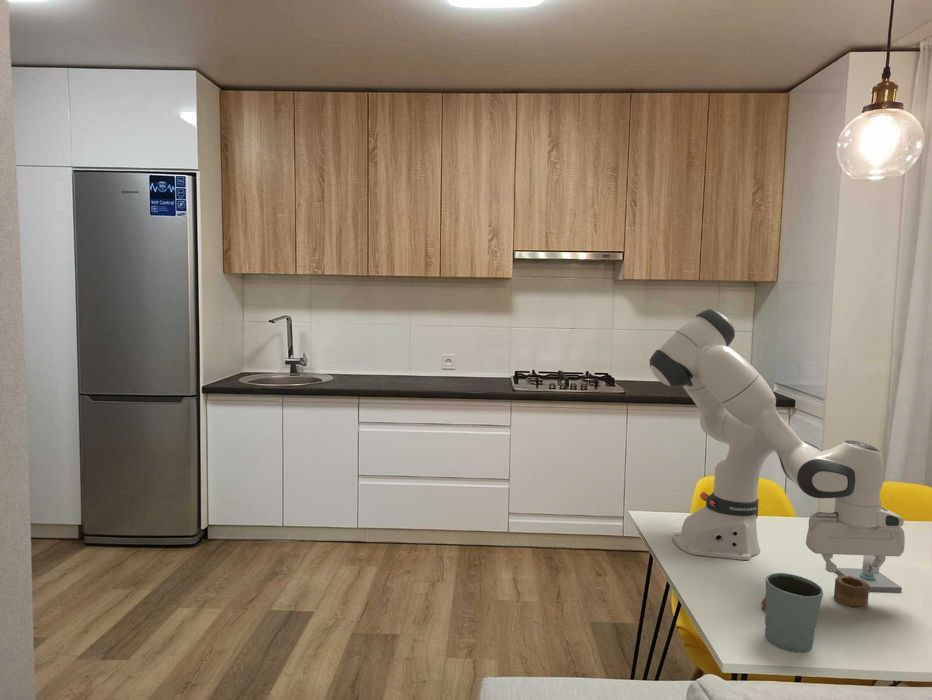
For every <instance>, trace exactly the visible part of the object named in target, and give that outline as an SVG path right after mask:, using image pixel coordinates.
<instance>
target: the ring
mask: <svg viewBox="0 0 932 700" xmlns="http://www.w3.org/2000/svg"><path fill="white" fill-rule="evenodd" d="M869 594H870V591H869V584H867V583H866V582H865V581H863V580H861V579H858V578H855V577H851V576H839V575H837V577H836V578H835V579H834V592H833V598H834V600H836V601H837V602H839V604H842V605H845V606H848V607H851V608H863V609H864V608H866V607H867V606H868V603H869Z"/></svg>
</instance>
